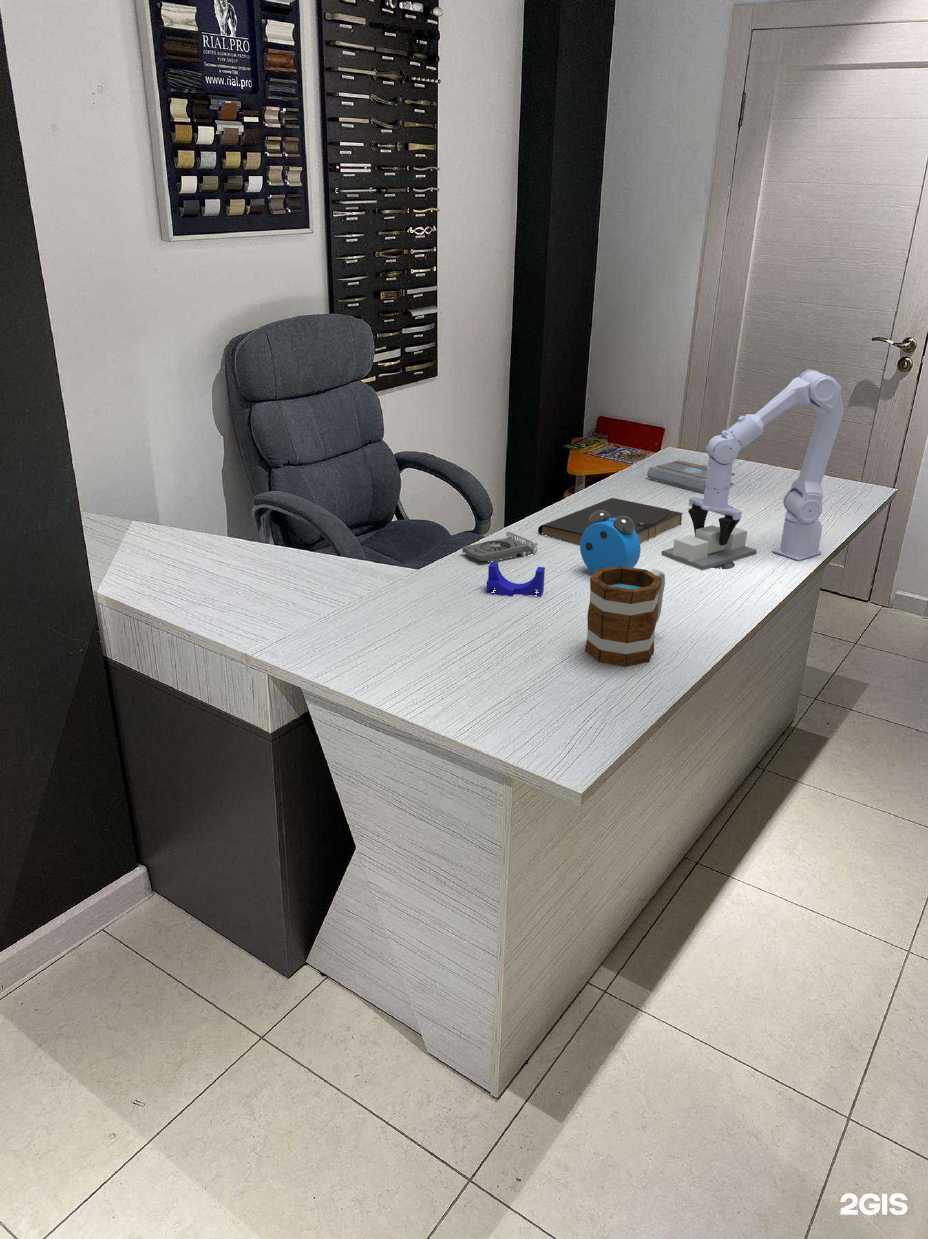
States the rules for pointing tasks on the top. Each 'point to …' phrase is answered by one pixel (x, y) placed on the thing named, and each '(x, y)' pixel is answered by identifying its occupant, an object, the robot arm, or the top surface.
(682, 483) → the book
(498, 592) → the blue cradle bracket
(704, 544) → the mounted modules
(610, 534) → the alarm clock
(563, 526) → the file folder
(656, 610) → the mug
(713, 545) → the block
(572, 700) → the top surface
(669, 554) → the rail board
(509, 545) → the graphics card
